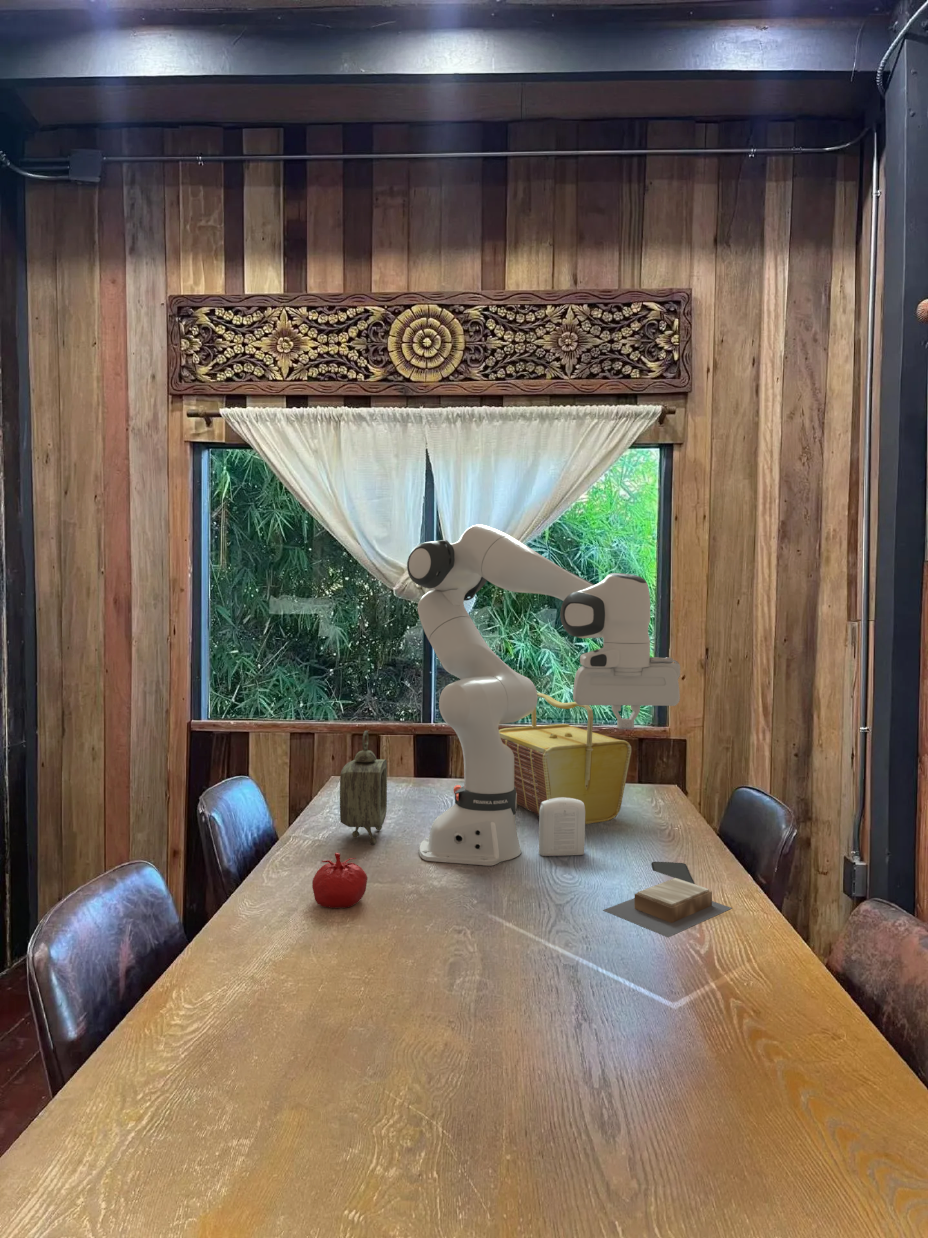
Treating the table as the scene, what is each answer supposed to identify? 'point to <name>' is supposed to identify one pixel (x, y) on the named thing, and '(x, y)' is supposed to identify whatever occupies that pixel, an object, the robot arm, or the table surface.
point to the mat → (660, 925)
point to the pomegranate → (339, 884)
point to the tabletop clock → (364, 792)
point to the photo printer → (561, 827)
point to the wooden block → (673, 899)
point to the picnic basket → (568, 765)
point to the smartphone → (673, 870)
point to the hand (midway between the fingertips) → (625, 728)
